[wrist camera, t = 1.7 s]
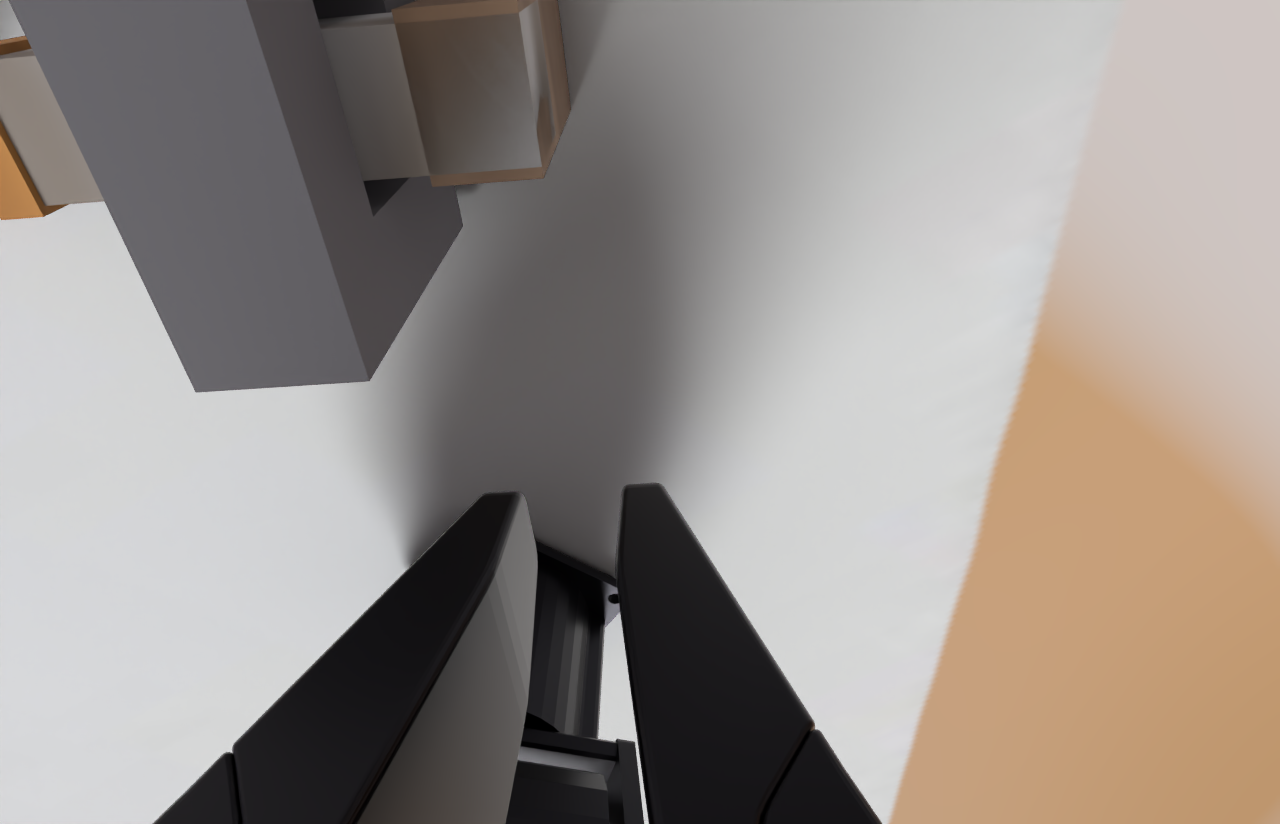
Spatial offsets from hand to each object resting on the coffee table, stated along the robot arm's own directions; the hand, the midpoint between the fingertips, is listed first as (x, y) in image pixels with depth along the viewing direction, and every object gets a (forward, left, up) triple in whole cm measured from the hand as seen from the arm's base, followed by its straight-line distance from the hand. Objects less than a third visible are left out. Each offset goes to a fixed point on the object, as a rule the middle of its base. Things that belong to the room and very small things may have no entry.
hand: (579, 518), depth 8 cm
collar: (+6, +1, -13) cm, 14 cm away
